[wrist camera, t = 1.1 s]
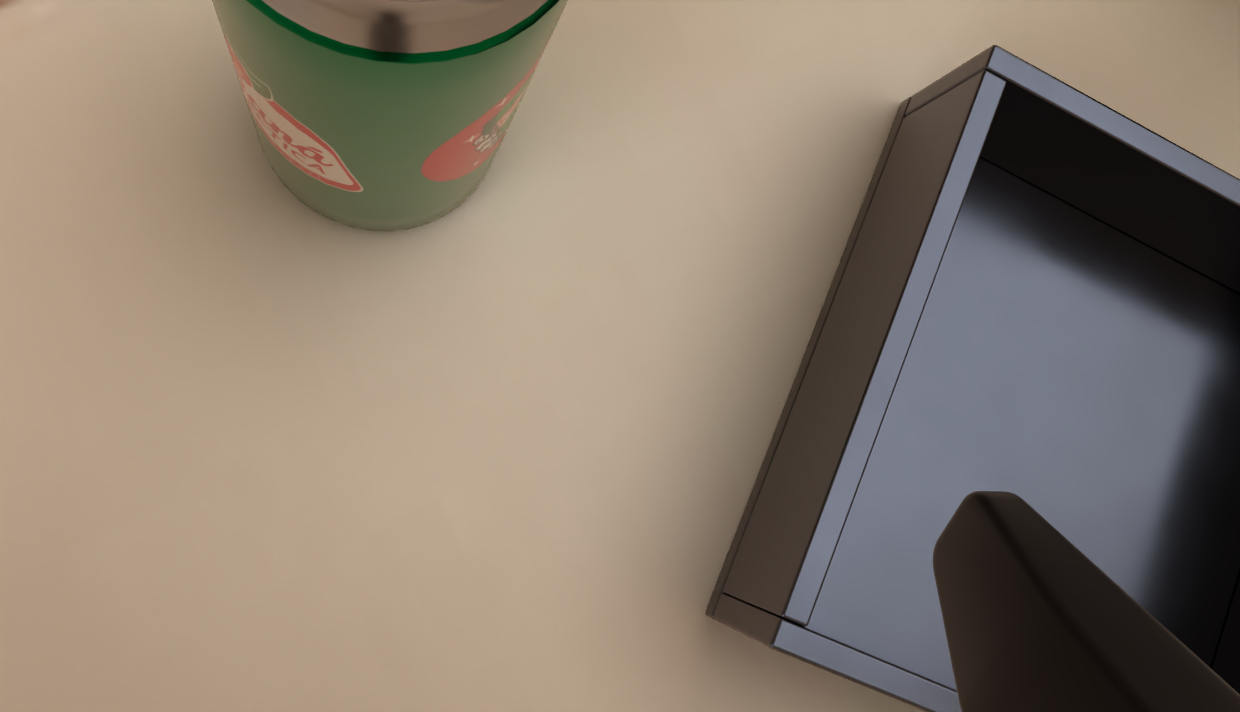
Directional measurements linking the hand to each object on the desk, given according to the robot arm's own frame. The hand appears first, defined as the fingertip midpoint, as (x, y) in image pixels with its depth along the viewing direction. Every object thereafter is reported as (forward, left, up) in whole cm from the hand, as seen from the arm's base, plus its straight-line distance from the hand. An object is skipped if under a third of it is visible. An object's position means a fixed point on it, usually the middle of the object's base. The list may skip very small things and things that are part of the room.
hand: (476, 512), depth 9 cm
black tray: (+6, -14, -14) cm, 21 cm away
